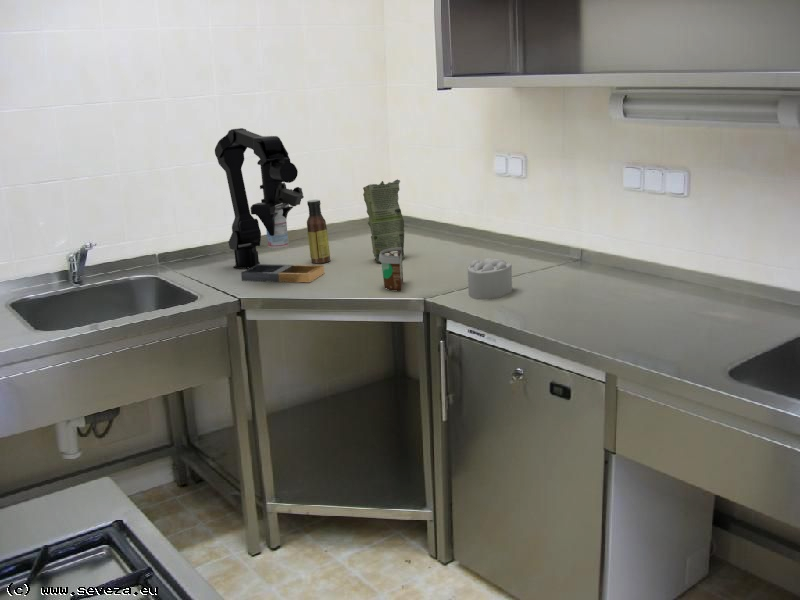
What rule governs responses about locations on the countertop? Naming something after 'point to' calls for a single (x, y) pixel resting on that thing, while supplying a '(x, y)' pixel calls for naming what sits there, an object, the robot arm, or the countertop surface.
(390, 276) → the food container
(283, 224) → the pill bottle
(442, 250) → the countertop surface
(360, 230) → the countertop surface
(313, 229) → the sauce bottle
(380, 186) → the pouch
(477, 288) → the lumpy-topped squat cylinder
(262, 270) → the metal frame
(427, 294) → the countertop surface
